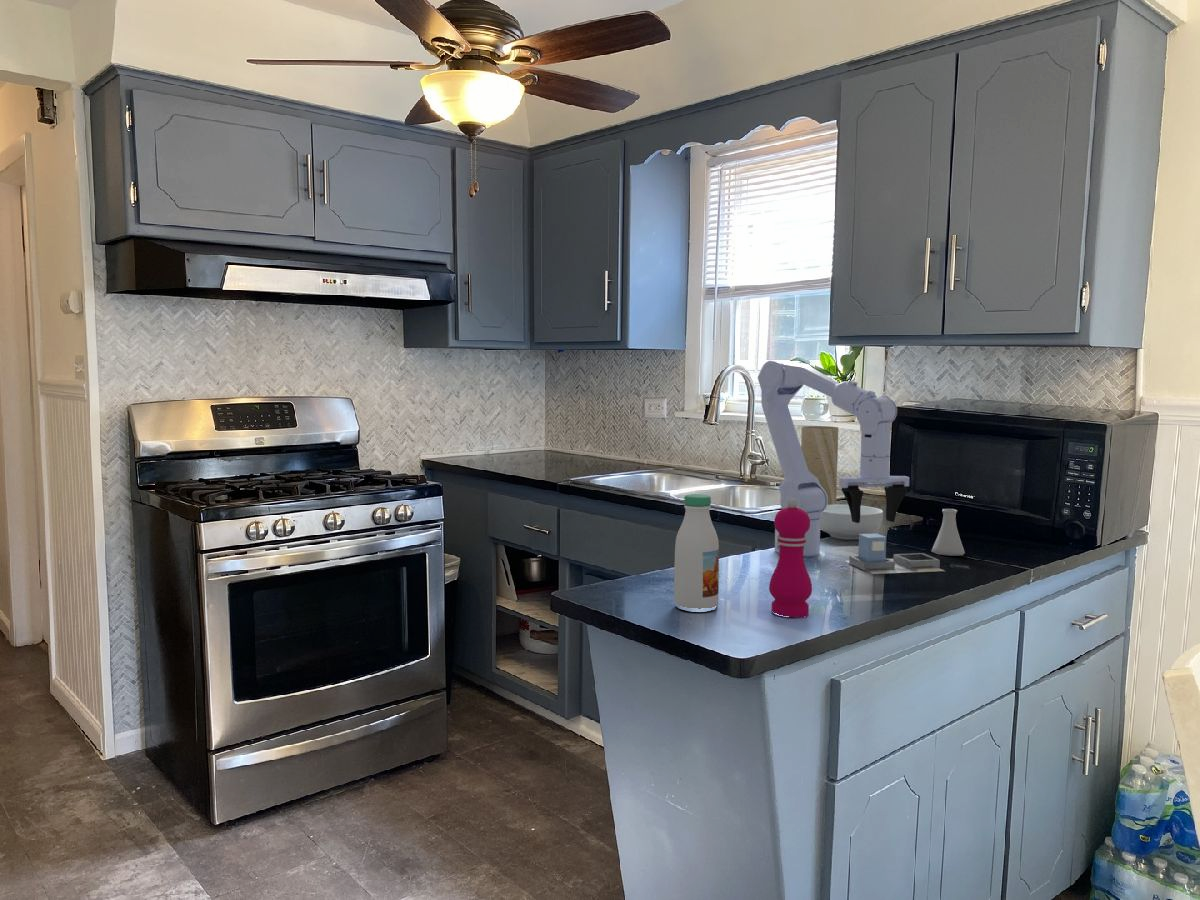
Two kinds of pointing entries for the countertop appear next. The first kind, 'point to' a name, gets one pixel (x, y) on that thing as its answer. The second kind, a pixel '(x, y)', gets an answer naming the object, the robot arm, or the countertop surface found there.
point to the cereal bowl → (850, 521)
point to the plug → (872, 548)
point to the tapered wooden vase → (822, 456)
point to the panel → (899, 564)
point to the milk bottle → (696, 556)
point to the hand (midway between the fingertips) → (873, 521)
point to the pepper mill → (791, 563)
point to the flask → (948, 536)
